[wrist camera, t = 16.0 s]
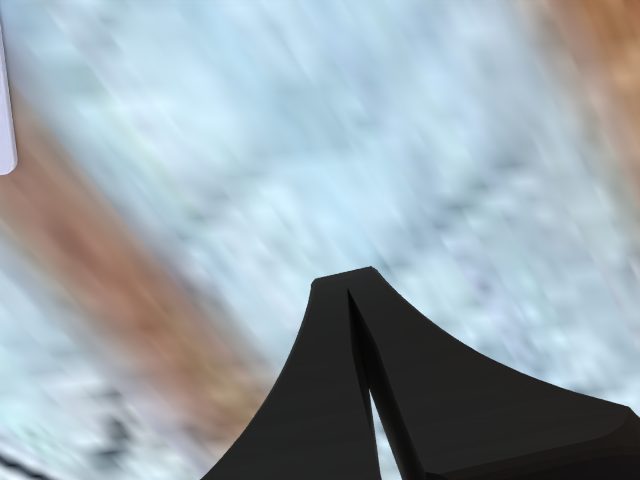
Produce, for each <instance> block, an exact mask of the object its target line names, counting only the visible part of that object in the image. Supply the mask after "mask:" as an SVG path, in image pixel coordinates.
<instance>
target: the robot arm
mask: <svg viewBox="0 0 640 480" xmlns="http://www.w3.org/2000/svg"><path fill="white" fill-rule="evenodd" d="M17 159H18V158H17V150H16V143H15V135H14V127H13V119H12V111H11V103H10V95H9V88H8V80H7V72H6V64H5V56H4V48H3V40H2V32H1V25H0V175H4V174H7V173H9V172H11V171H12V170H13V169H14V168H15V167H16V165H17ZM369 389H370V392H371V395H372V398H373V401H374V403H375V406H376V409H377V412H378V414H379V417H380V420H381V423H382V425H383V428H384V431H385V433H386V436H387V439H388V442H389V444H390V447H391V450H392V453H393V455H394V458H395V461H396V464H397V466H398V469H399V472H400V474H401V478H402V480H640V417H638V416H637V415H636V414H635V413H634V412H633V411H632V409H631V408H629V407H628V406H624V405H621V404H617V403H613V402H610V401H606V400H602V399H598V398H595V397H591V396H587V395H584V394H580V393H576V392H573V391H570V390H567V389H564V388H561V387H558V386H555V385H553V384H550V383H547V382H544V381H541V380H538V379H536V378H533V377H531V376H528V375H526V374H523V373H521V372H519V371H516V370H514V369H512V368H510V367H508V366H505V365H503V364H501V363H499V362H497V361H495V360H492V359H490V358H489V357H487V356H485V355H483V354H481V353H479V352H477V351H476V350H474V349H472V348H470V347H469V346H467V345H465V344H464V343H462V342H461V341H459V340H457V339H456V338H454V337H453V336H451V335H450V334H448V333H447V332H446V331H444V330H443V329H441V328H440V327H439V326H437V325H436V324H435V323H433V322H432V321H431V320H429V319H428V318H427V317H425V316H424V315H423V314H422V313H420V312H419V311H418V310H417V309H416V308H415V307H413V306H412V305H411V304H410V303H409V302H408V301H406V300H405V299H404V298H403V297H402V296H401V295H400V294H399V293H398V292H397V291H396V290H395V289H394V288H393V287H392V286H391V285H390V284H389V283H388V282H387V281H386V280H385V279H384V278H383V277H382V276H381V274H380V273H379V272H378V271H377V270H376V269H375V268H373V267H372V266H370V267H365V268H361V269H356V270H352V271H347V272H343V273H338V274H334V275H330V276H325V277H321V278H316V279H315V280H314V281H313V282H312V284H311V291H310V296H309V301H308V305H307V308H306V312H305V315H304V318H303V321H302V324H301V327H300V330H299V332H298V335H297V338H296V340H295V343H294V345H293V347H292V350H291V352H290V354H289V356H288V359H287V361H286V363H285V365H284V367H283V369H282V371H281V373H280V375H279V377H278V379H277V381H276V383H275V384H274V386H273V388H272V389H271V391H270V393H269V395H268V396H267V398H266V399H265V401H264V403H263V404H262V406H261V407H260V409H259V410H258V411H257V413H256V414H255V416H254V417H253V419H252V420H251V422H250V423H249V425H248V426H247V427H246V429H245V430H244V431H243V433H242V434H241V435H240V437H239V438H238V439H237V440H236V441H235V442H234V444H233V445H232V446H231V447H230V448H229V450H228V451H227V452H226V453H225V454H224V455H223V457H222V458H221V459H220V460H219V461H218V462H217V463H216V464H215V465H214V466H213V467H212V469H211V470H210V471H209V472H208V473H207V474H206V475H205V476H204V477H203V478H202V479H200V480H382V479H381V475H380V467H379V460H378V452H377V445H376V437H375V430H374V422H373V415H372V407H371V400H370V392H369Z"/></svg>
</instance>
